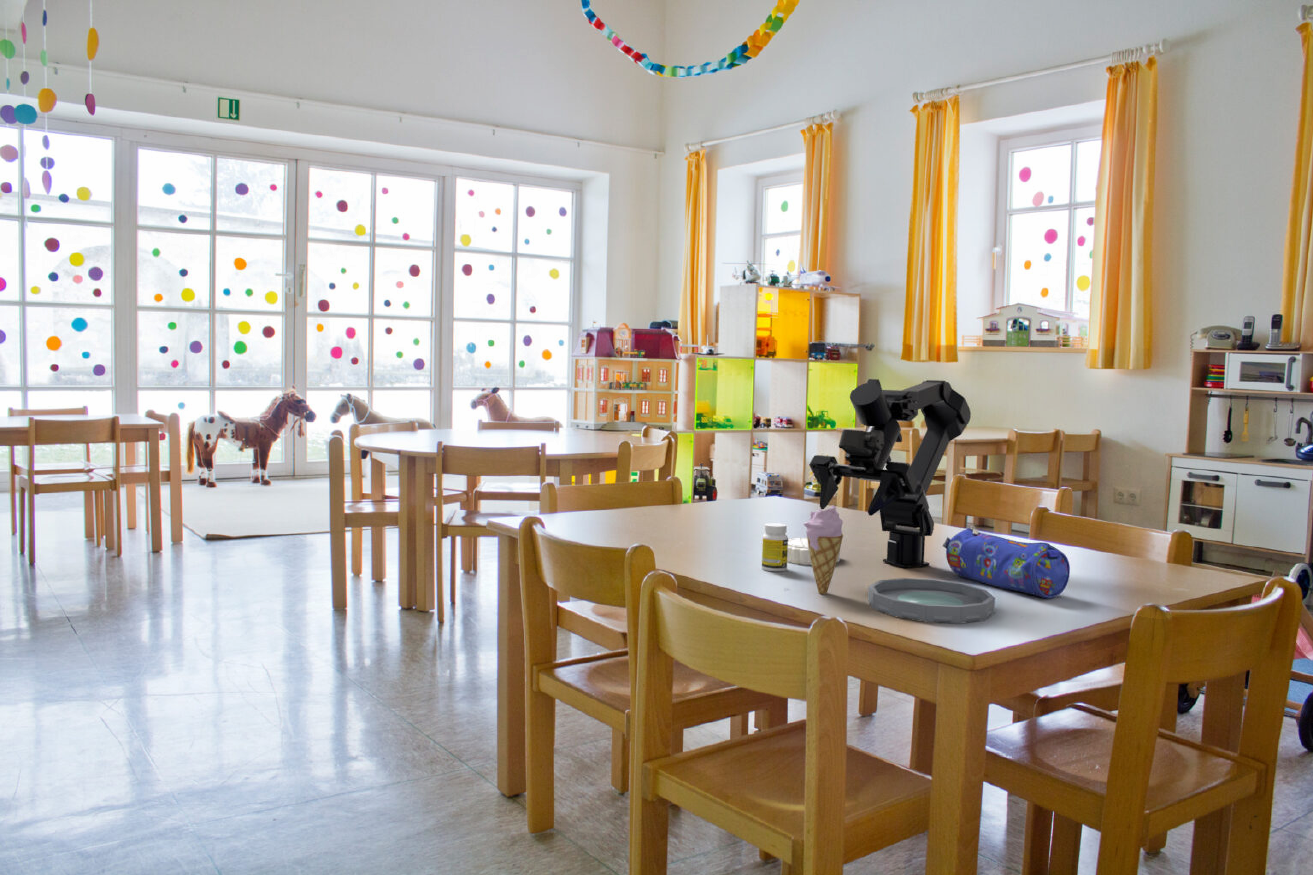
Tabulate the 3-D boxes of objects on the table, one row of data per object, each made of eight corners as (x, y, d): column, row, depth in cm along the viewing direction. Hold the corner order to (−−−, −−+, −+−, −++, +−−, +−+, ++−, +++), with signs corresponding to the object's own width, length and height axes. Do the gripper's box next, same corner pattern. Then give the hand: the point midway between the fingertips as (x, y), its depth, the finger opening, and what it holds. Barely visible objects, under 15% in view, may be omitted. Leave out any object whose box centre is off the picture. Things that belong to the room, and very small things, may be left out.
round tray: (934, 589, 167) (934, 574, 166) (1019, 615, 150) (1020, 600, 149) (844, 598, 158) (845, 583, 158) (924, 628, 141) (924, 611, 141)
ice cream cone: (831, 599, 157) (834, 508, 156) (795, 594, 160) (798, 504, 159) (845, 592, 163) (849, 504, 162) (811, 586, 166) (814, 500, 165)
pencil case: (939, 576, 178) (941, 525, 177) (973, 572, 182) (975, 522, 181) (1038, 603, 159) (1041, 546, 158) (1073, 598, 163) (1076, 542, 162)
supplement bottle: (786, 572, 177) (787, 527, 177) (760, 571, 178) (761, 526, 177) (787, 567, 182) (789, 523, 181) (762, 565, 183) (764, 521, 182)
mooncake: (844, 567, 185) (845, 548, 184) (781, 565, 185) (782, 547, 185) (834, 554, 196) (835, 537, 196) (775, 553, 197) (776, 535, 196)
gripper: (816, 410, 175) (782, 475, 167) (913, 416, 163) (881, 486, 156) (835, 451, 182) (803, 515, 174) (930, 459, 170) (900, 528, 162)
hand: (844, 510), depth 166 cm, fingers open, 9 cm apart
